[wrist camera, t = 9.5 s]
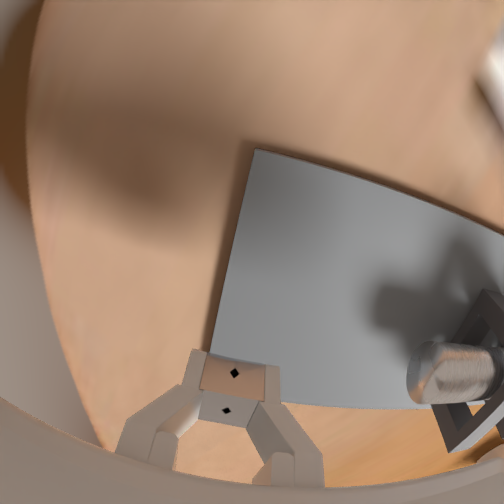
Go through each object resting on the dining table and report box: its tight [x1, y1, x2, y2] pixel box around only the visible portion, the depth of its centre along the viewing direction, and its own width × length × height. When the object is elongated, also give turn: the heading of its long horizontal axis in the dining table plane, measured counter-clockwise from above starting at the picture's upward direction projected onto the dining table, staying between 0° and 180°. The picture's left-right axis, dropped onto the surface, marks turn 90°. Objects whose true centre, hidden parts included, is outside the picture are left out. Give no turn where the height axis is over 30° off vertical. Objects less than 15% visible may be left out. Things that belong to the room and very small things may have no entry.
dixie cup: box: [477, 444, 504, 463], centre depth 23 cm, size 8×8×10 cm
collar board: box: [210, 148, 504, 453], centre depth 11 cm, size 14×32×10 cm, turn 77°
